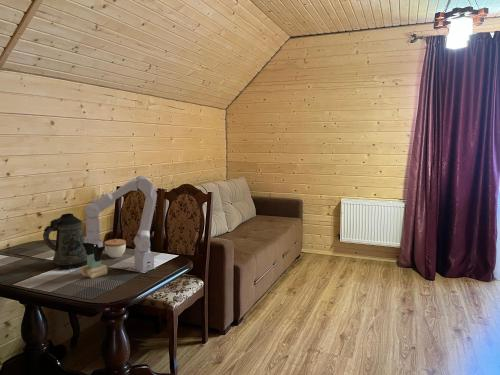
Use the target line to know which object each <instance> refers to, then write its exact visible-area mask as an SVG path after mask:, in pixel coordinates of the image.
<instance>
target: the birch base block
mask: <svg viewBox="0 0 500 375" xmlns="http://www.w3.org/2000/svg"><path fill="white" fill-rule="evenodd" d="M80 270H81V276H84V277H86V278H87V277H88V278H90V279H94V278H97V277H100V276H104V275H107V274H108V265H107V264H102V263H101V266H100V267H96V268H90V267H88V266H87V265H86V266H82V267H80Z"/></svg>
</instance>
